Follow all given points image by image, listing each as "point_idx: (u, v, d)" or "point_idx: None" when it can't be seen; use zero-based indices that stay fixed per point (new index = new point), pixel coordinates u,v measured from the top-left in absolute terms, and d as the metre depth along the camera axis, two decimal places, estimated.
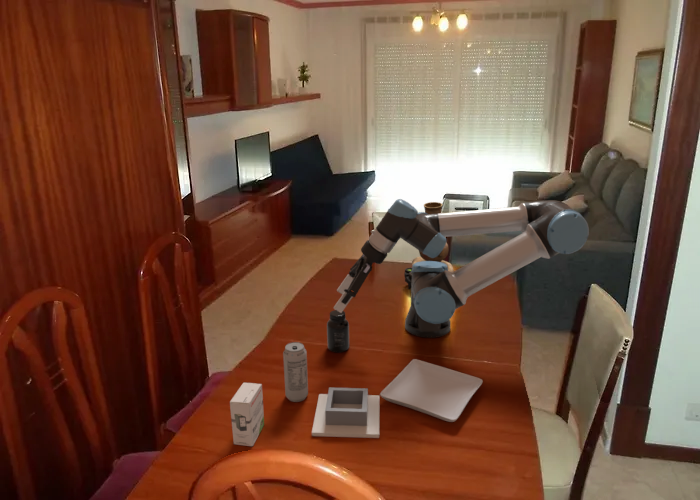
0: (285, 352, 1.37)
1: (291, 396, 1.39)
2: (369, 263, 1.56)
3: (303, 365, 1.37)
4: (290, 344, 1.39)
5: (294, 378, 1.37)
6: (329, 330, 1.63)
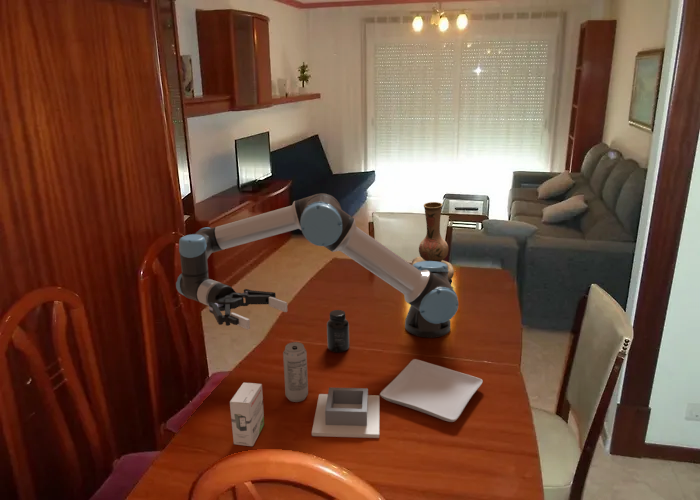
0: (285, 352, 1.37)
1: (291, 396, 1.39)
2: (217, 303, 1.49)
3: (303, 365, 1.37)
4: (290, 344, 1.39)
5: (294, 378, 1.37)
6: (329, 330, 1.63)
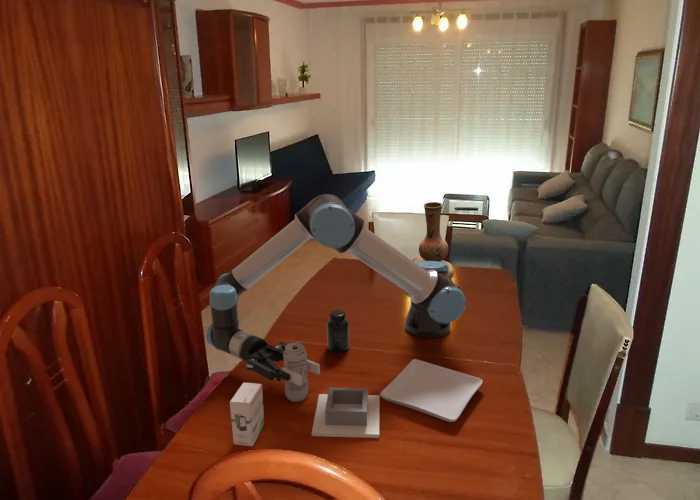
0: (285, 352, 1.37)
1: (291, 396, 1.39)
2: (250, 358, 1.44)
3: (303, 365, 1.37)
4: (290, 344, 1.39)
5: None
6: (329, 330, 1.63)
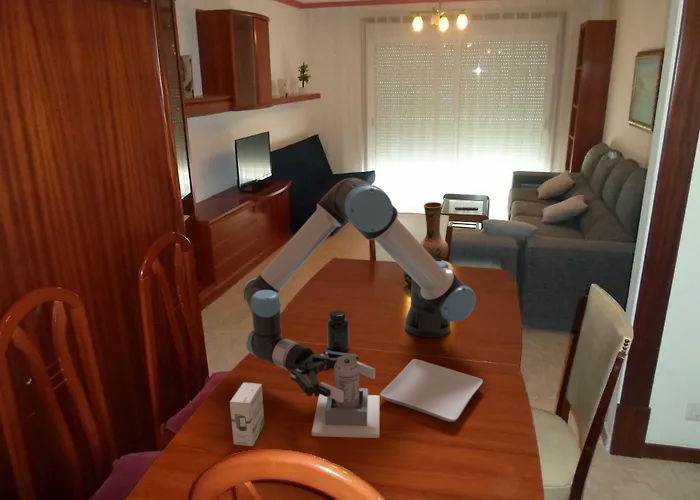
0: (337, 366, 1.28)
1: None
2: (297, 368, 1.36)
3: (356, 380, 1.29)
4: (341, 357, 1.30)
5: (346, 394, 1.29)
6: (329, 330, 1.63)
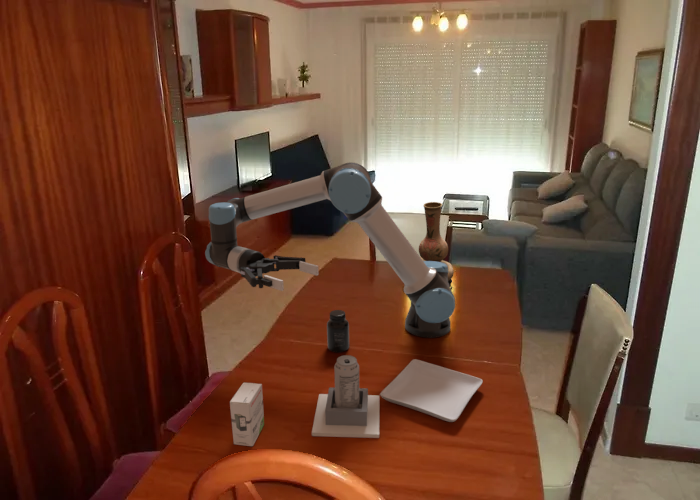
0: (337, 366, 1.28)
1: None
2: (248, 268, 1.49)
3: (356, 380, 1.29)
4: (341, 357, 1.30)
5: (346, 394, 1.29)
6: (329, 330, 1.63)
